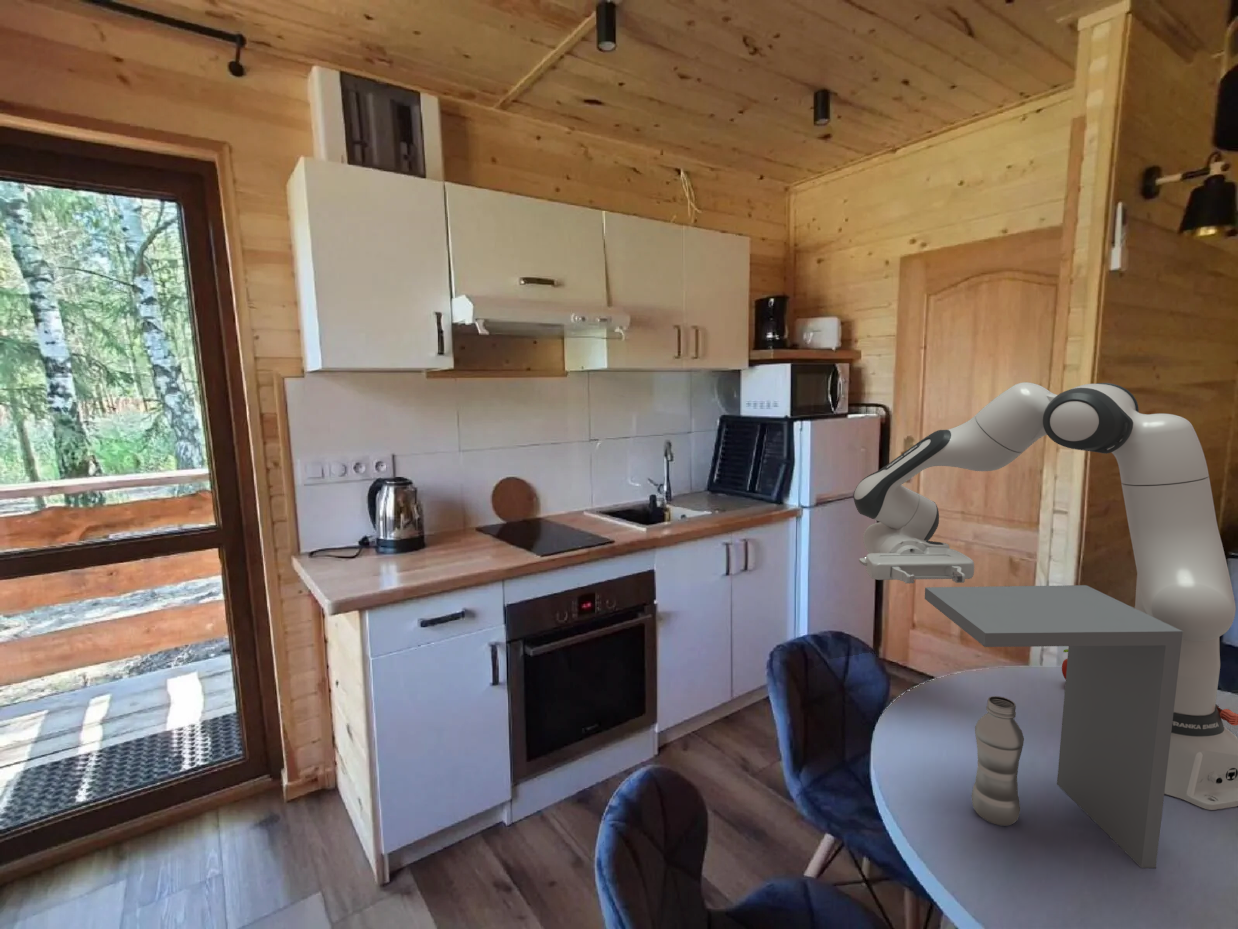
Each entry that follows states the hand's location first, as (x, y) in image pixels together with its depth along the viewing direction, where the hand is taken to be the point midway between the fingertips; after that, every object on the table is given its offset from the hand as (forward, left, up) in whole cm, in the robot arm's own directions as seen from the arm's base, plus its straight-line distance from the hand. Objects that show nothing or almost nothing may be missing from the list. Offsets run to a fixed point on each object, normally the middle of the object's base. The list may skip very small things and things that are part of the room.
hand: (935, 579), depth 115 cm
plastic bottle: (0, +23, -32) cm, 40 cm away
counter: (-4, +24, -32) cm, 40 cm away
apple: (-40, -16, -32) cm, 54 cm away
